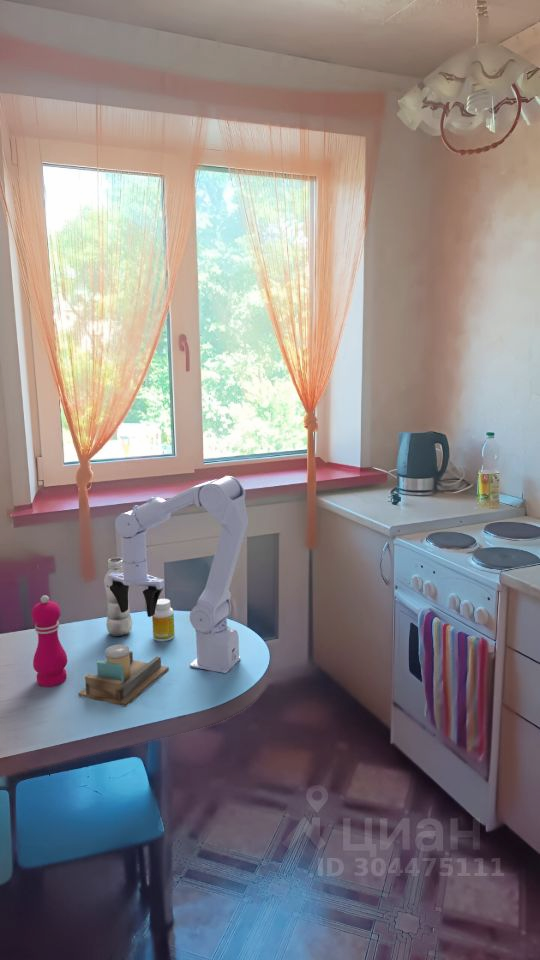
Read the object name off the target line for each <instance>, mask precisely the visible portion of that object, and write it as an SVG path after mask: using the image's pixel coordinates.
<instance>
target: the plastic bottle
mask: <svg viewBox="0 0 540 960" xmlns="http://www.w3.org/2000/svg"><path fill="white" fill-rule="evenodd" d="M107 563H108V564H107V567H108V571H107V572H106V574H105V576H104V578H103V579H104V580H103V584H104V589H105V594H106V600H107V617H106V629H107V632H108V633H109V634H110V635H111V636H118V637H119V636H124V635H127V634H129V633H130V632H131V631H132V629H133V620H132V615H131V612H130V611H131V610H130V605H129V603H130V602H129V597H130V596H129V591H130V590H128V610H127V611H125V612H124V613H122V612H121V610H120V607H119V604H118V602H117V600H116V598H115V596H114V594H113V593H112V591H111V590H110V586H111V585H112V584H113V583H109V579H108V575H109V574H111V573H123V561H122V557H112V558H109V559H108V561H107Z"/></svg>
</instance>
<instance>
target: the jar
mask: <svg viewBox="0 0 540 960" xmlns="http://www.w3.org/2000/svg"><path fill="white" fill-rule="evenodd" d="M129 652H130V647H129V646H128V645H127V644H114V645H110V646H109V647H107V648H106V649H105V658H106V662H111V663H116V664H122V665H123V670H124V682H126V681H127V680H128V679H129V678H130V677H131V675H130V659H129Z"/></svg>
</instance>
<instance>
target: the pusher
mask: <svg viewBox="0 0 540 960" xmlns="http://www.w3.org/2000/svg"><path fill="white" fill-rule="evenodd" d="M96 669H97V674H98V676H100V677H105V678H110V679H115V680H120V681H123V683H124V670H123V665H122V664H116V663H111V662H107V660H106V661H105V660H98V661H96Z"/></svg>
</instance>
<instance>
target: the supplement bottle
mask: <svg viewBox="0 0 540 960" xmlns="http://www.w3.org/2000/svg"><path fill="white" fill-rule="evenodd" d="M151 617H152V636H153V639H154V640H155V641H157V642H167V641H168V642H169V641H170V640H173V639H174V638H175V635H176V634H175V616H174V609H173V608H172V607H171V600H170V599H168V598H158V601H157V604H156V609H155V614H154V615H153V616H151Z"/></svg>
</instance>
